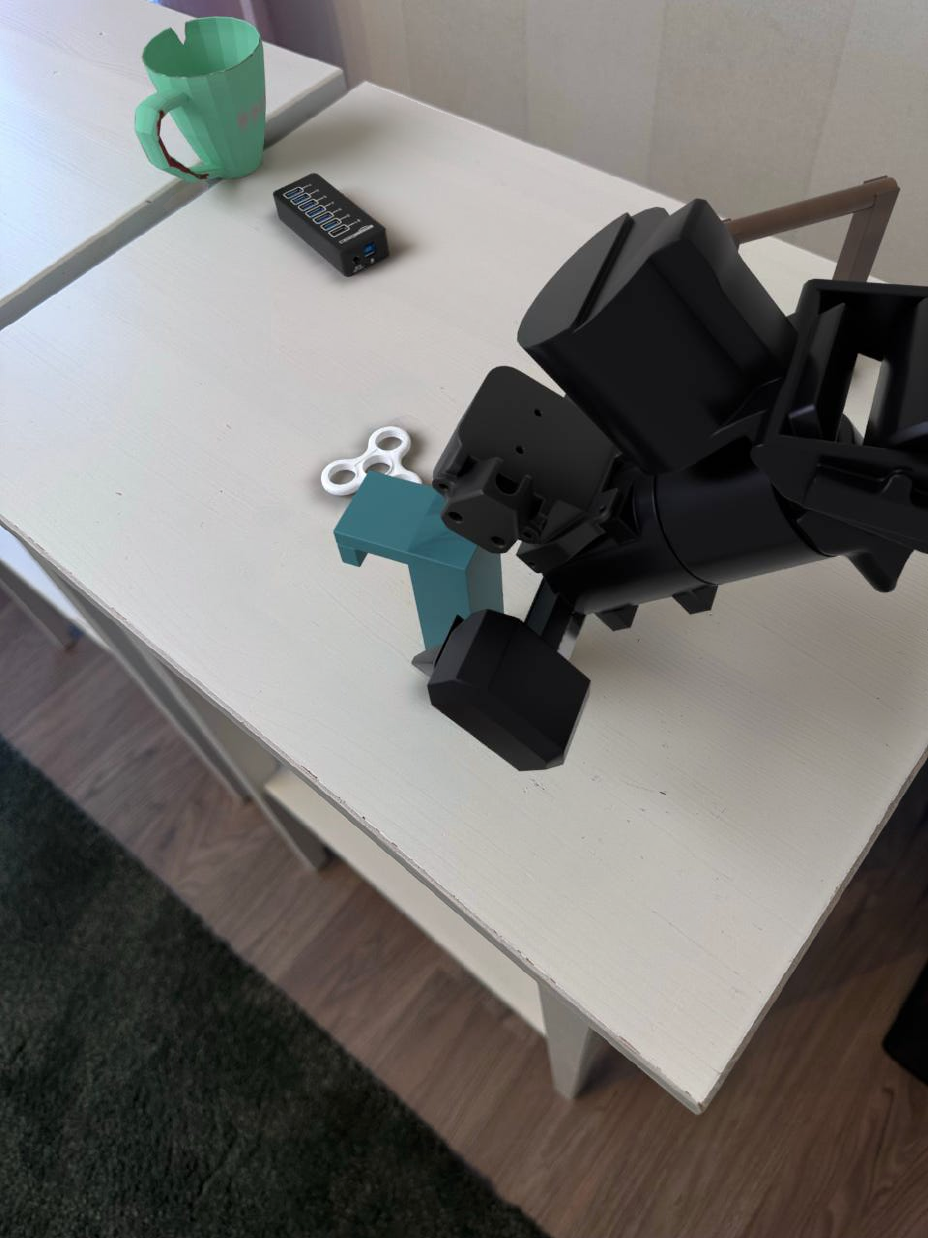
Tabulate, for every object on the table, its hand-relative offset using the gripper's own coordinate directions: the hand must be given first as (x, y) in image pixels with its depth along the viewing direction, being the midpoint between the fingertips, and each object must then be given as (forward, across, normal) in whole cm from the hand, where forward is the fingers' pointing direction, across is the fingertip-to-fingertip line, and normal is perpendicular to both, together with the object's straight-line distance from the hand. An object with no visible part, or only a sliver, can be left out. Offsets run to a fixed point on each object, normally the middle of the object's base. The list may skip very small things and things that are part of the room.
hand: (454, 591), depth 46 cm
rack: (-2, -28, +13) cm, 31 cm away
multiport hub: (+24, -34, -13) cm, 44 cm away
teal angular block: (+6, 0, +4) cm, 8 cm away
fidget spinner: (+13, -11, -2) cm, 17 cm away
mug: (+34, -39, -22) cm, 56 cm away
